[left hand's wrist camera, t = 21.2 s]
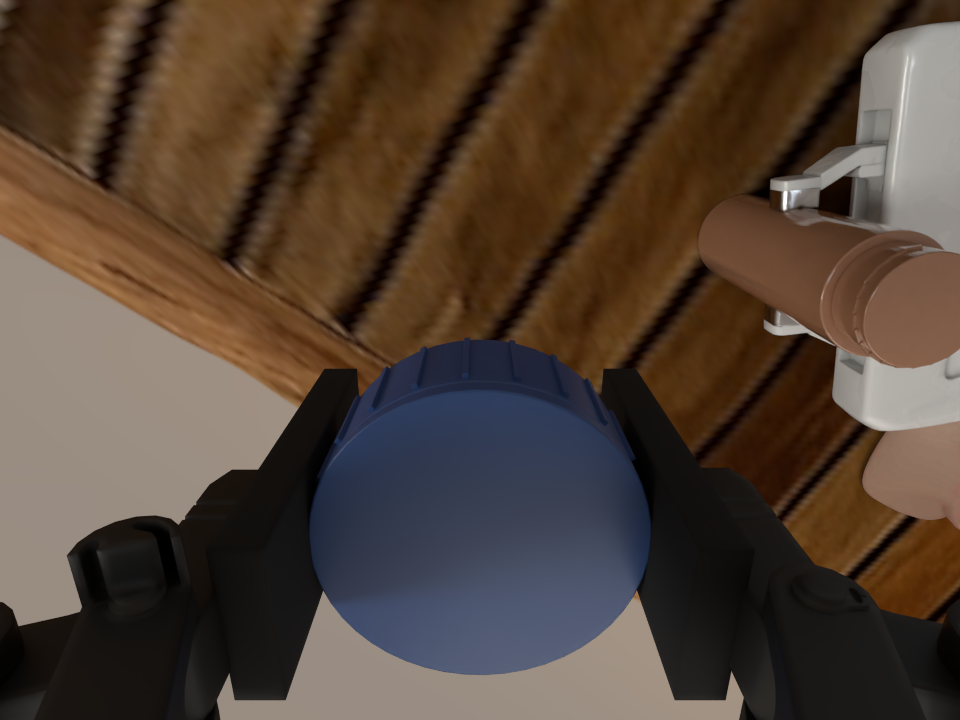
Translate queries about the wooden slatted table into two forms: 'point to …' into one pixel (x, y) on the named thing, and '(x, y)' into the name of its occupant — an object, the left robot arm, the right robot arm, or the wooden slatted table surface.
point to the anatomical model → (918, 472)
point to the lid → (479, 511)
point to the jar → (841, 277)
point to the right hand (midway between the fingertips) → (771, 259)
